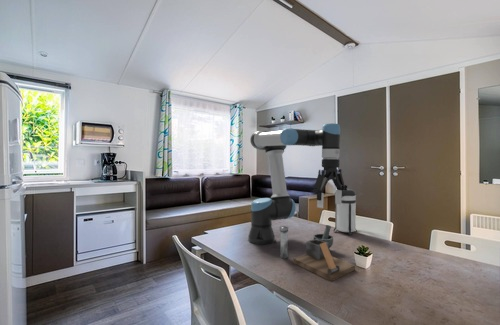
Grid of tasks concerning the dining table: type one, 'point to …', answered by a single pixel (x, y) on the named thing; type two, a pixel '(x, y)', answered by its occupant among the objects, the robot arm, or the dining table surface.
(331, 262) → the strip
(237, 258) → the dining table surface
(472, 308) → the dining table surface
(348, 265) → the hitch board
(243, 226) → the dining table surface
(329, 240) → the mortar and pestle
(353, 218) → the coffee press
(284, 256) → the pin
